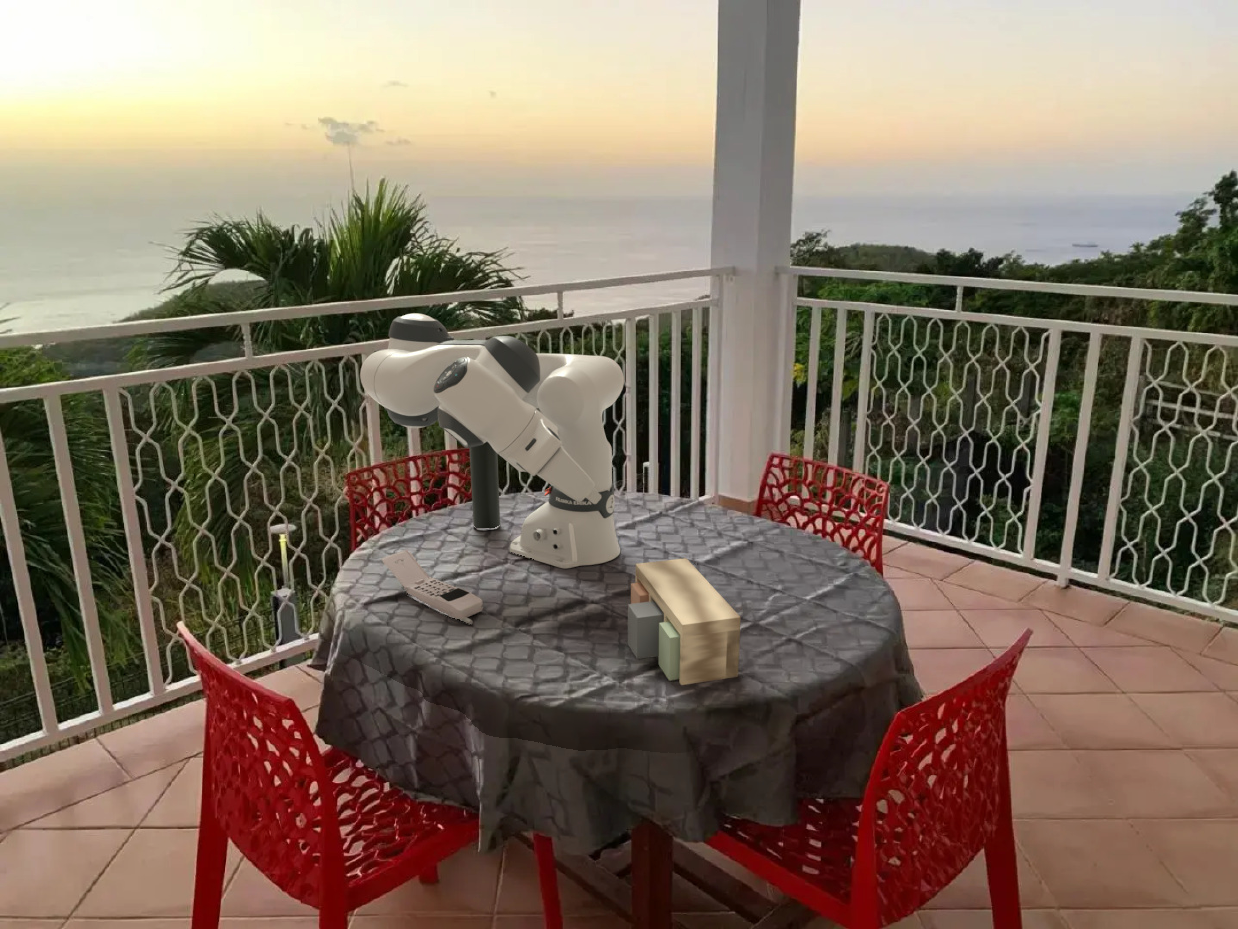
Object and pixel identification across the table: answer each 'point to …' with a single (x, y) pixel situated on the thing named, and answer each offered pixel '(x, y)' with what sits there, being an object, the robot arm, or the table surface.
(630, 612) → the slate key
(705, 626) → the key console
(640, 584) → the terracotta key
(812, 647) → the table surface
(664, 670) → the sage key
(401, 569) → the mobile phone
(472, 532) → the table surface
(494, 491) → the wine bottle
